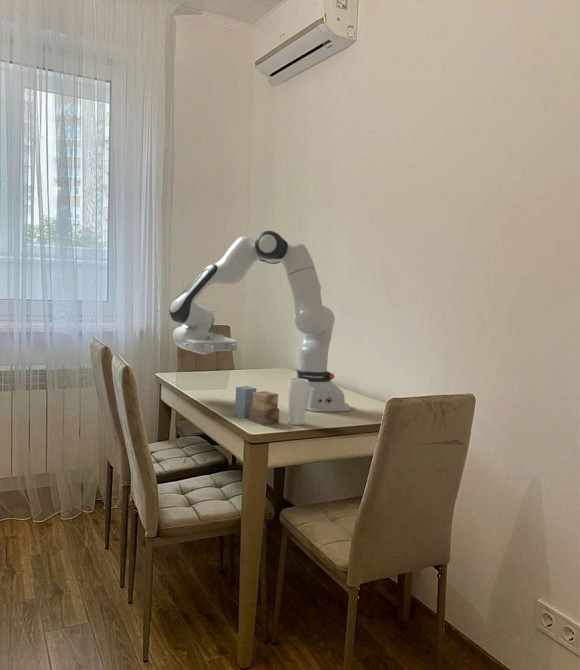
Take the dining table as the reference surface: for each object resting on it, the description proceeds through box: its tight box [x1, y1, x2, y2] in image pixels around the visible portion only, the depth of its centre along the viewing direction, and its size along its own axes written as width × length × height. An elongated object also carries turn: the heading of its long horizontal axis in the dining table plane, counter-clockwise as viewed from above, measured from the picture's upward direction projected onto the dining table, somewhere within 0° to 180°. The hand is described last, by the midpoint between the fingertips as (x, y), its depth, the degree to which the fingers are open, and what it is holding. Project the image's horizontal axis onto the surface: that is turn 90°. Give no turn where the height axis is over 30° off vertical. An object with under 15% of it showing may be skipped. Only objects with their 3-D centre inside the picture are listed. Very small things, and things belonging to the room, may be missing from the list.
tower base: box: [248, 407, 280, 426], centre depth 195 cm, size 7×7×5 cm
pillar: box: [234, 385, 257, 419], centre depth 202 cm, size 5×5×10 cm
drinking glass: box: [287, 377, 309, 426], centre depth 195 cm, size 7×7×15 cm
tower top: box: [252, 390, 279, 411], centre depth 195 cm, size 6×6×5 cm
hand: (225, 348), depth 210 cm, fingers open, 8 cm apart
